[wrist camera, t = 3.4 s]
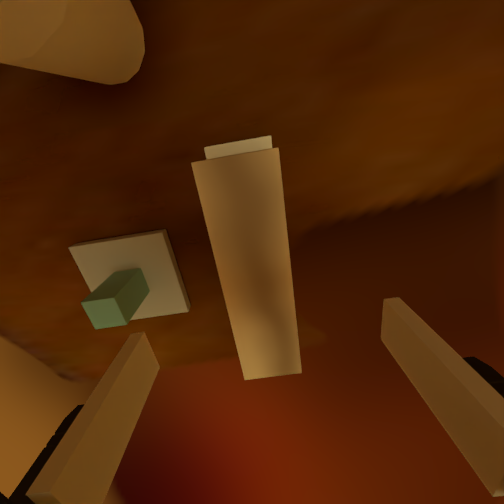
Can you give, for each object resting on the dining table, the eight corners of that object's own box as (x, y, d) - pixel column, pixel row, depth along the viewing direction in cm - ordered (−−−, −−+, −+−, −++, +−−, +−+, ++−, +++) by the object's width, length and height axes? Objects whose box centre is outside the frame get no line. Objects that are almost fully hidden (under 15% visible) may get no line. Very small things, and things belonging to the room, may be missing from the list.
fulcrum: (112, 316, 29) (76, 361, 23) (76, 243, 25) (20, 273, 19) (190, 305, 28) (175, 347, 22) (165, 228, 25) (138, 255, 18)
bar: (245, 337, 25) (244, 380, 20) (205, 159, 18) (190, 162, 13) (291, 331, 25) (301, 372, 20) (270, 148, 17) (278, 147, 13)
